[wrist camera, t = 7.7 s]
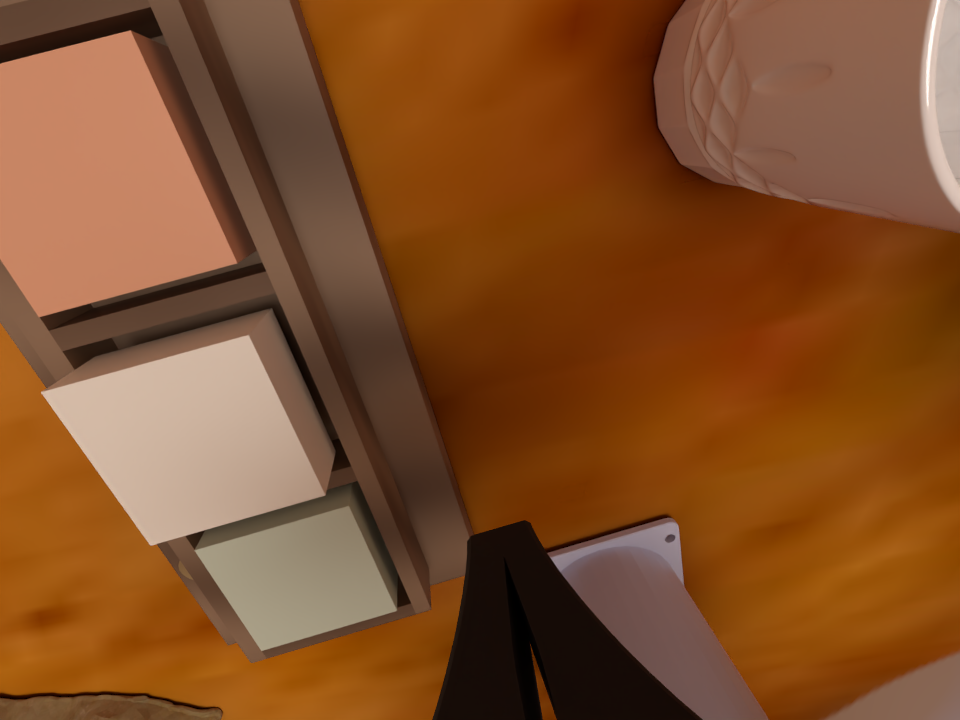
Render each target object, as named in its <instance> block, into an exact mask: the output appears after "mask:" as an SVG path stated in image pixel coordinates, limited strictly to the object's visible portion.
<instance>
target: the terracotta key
mask: <svg viewBox="0 0 960 720" xmlns="http://www.w3.org/2000/svg"><path fill="white" fill-rule="evenodd" d="M255 251H257V249H256V247H255V244H254V242H253V240H252V237H251V235H250V233H249V231H248V228H247V226H246V224H245V221H244V219H243V217H242V215H241V212H240V210H239V208H238V205H237V203H236V201H235V198H234V196H233V194H232V192H231V189H230V187H229V185H228V182H227V180H226V178H225V176H224V173H223V171H222V169H221V166H220V164H219V162H218V160H217V157H216V155H215V153H214V150H213V148H212V146H211V143H210V141H209V139H208V137H207V134H206V132H205V130H204V127H203V125H202V123H201V121H200V118H199V116H198V114H197V111H196V109H195V107H194V105H193V102H192V100H191V98H190V95H189V93H188V91H187V89H186V86H185V84H184V82H183V79H182V77H181V75H180V72H179V70H178V68H177V66H176V63H175V61H174V59H173V56H172V54H171V52H170V50H169V47H167V46H165V45H163V44H160V43H158V42H156V41H154V40H151V39H149V38H147V37H145V36H142V35H140V34H138V33H135V32H133V31H131V30H130V31H126V32H122V33H118V34H114V35H110V36H106V37H102V38H99V39H95V40H91V41H87V42H83V43H79V44H75V45H71V46H67V47H63V48H59V49H55V50H52V51H48V52H44V53H40V54H36V55H32V56H28V57H24V58H20V59H16V60H12V61H8V62H4V63H1V64H0V260H1V261H2V263H3V264H4V266H5V267H6V269H7V270H8V272H9V273H10V275H11V276H12V278H13V279H14V281H15V282H16V284H17V285H18V287H19V288H20V290H21V291H22V293H23V294H24V296H25V297H26V299H27V300H28V302H29V303H30V305H31V306H32V308H33V309H34V311H35V312H36V314H37V315H38V317H42V316H45V315H49V314H53V313H56V312H60V311H64V310H67V309H71V308H75V307H78V306H82V305H86V304H89V303H93V302H97V301H100V300H104V299H108V298H112V297H115V296H119V295H123V294H126V293H130V292H134V291H137V290H141V289H145V288H148V287H152V286H156V285H159V284H163V283H167V282H170V281H174V280H178V279H181V278H185V277H189V276H193V275H196V274H200V273H204V272H207V271H211V270H215V269H218V268H222V267H226V266H229V265H233V264H237V263H239V262H240V261H242V260H243V259H245V258H246V257H248V256H249V255H251V254H252V253H254V252H255Z"/></svg>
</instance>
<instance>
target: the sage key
mask: <svg viewBox="0 0 960 720" xmlns="http://www.w3.org/2000/svg"><path fill="white" fill-rule="evenodd" d="M194 551H195V552H196V554H197V555H198V557H199V558H200V560H201V561H202V563H203V564H204V566H205V567H206V569H207V570H208V572H209V573H210V575H211V576H212V578H213V579H214V581H215V582H216V584H217V585H218V587H219V588H220V590H221V591H222V593H223V594H224V596H225V597H226V599H227V600H228V602H229V603H230V605H231V606H232V608H233V609H234V611H235V612H236V614H237V615H238V617H239V618H240V620H241V621H242V623H243V624H244V626H245V627H246V629H247V630H248V632H249V633H250V635H251V636H252V638H253V639H254V641H255V642H256V644H257V645H258V647H259V648H260V650H261V651H263V650H267V649H270V648H274V647H277V646H280V645H284V644H287V643H290V642H294V641H297V640H301V639H304V638H307V637H311V636H314V635H317V634H321V633H324V632H328V631H331V630H334V629H338V628H341V627H344V626H348V625H351V624H355V623H358V622H361V621H365V620H368V619H371V618H375V617H378V616H382V615H385V614H388V613H392V612H395V611H397V589H398V572H397V570H396V567H395V565H394V563H393V560H392V558H391V556H390V554H389V551H388V549H387V547H386V544H385V542H384V540H383V537H382V535H381V533H380V531H379V528H378V526H377V524H376V521H375V519H374V517H373V515H372V512H371V510H370V508H369V505H368V503H367V501H366V499H365V496H364V494H363V492H362V489H361V487H360V485H359V482H358V481H356V482H352V483H349V484H345V485H342V486H338V487H335V488H331V489H328V490H327V491H326V495H325V496H322V497H318V498H315V499H311V500H308V501H304V502H301V503H297V504H294V505H290V506H287V507H284V508H280V509H277V510H273V511H270V512H266V513H263V514H259V515H256V516H252V517H249V518H245V519H242V520H238V521H235V522H231V523H228V524H224V525H221V526H218V527H214V528H211V529H207V530H205V532H204V533H203V535H202V537H201V539H200V541H199V543H198V545H197V547H196V549H195V550H194Z"/></svg>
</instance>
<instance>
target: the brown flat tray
mask: <svg viewBox="0 0 960 720" xmlns="http://www.w3.org/2000/svg"><path fill="white" fill-rule="evenodd" d="M130 30H131V31H133V32H135V33H138V34H140V35H142V36H145V37H147V38H149V39H151V40H154V41H156V42H158V43H160V44H163V45H165V46H167V47H169V50H170V52H171V54H172V56H173V59H174V61H175V63H176V66H177V68H178V70H179V72H180V75H181V77H182V79H183V82H184V84H185V86H186V89H187V91H188V93H189V95H190V98H191V100H192V102H193V105H194V107H195V109H196V111H197V114H198V116H199V118H200V121H201V123H202V125H203V127H204V130H205V132H206V134H207V137H208V139H209V141H210V143H211V146H212V148H213V150H214V153H215V155H216V157H217V160H218V162H219V164H220V166H221V169H222V171H223V173H224V176H225V178H226V180H227V182H228V185H229V187H230V189H231V192H232V194H233V196H234V198H235V201H236V203H237V205H238V208H239V210H240V212H241V215H242V217H243V219H244V221H245V224H246V226H247V228H248V231H249V233H250V235H251V237H252V240H253V242H254V244H255V247H256V249H257V251H255V252H254V253H252V254H251V255H249V256H248V257H246V258H245V259H243V260H242V261H240V262H239V263H237V264H233V265H229V266H226V267H222V268H218V269H215V270H211V271H207V272H204V273H200V274H196V275H193V276H189V277H185V278H181V279H178V280H174V281H170V282H167V283H163V284H159V285H156V286H152V287H148V288H145V289H141V290H137V291H134V292H130V293H126V294H123V295H119V296H115V297H112V298H108V299H104V300H100V301H97V302H93V303H89V304H86V305H82V306H78V307H75V308H71V309H67V310H64V311H60V312H56V313H53V314H49V315H45V316H42V317H38V315H37V314H36V312H35V311H34V309H33V308H32V306H31V305H30V303H29V302H28V300H27V299H26V297H25V296H24V294H23V293H22V291H21V290H20V288H19V287H18V285H17V284H16V282H15V281H14V279H13V278H12V276H11V275H10V273H9V272H8V270H7V269H6V267H5V266H4V264H3V263H2V261H1V260H0V323H1V324H2V326H3V327H4V328H5V330H6V331H7V333H8V334H9V335H10V337H11V338H12V340H13V341H14V343H15V344H16V345H17V347H18V348H19V350H20V351H21V352H22V354H23V355H24V357H25V358H26V360H27V361H28V362H29V364H30V365H31V367H32V368H33V369H34V371H35V372H36V374H37V375H38V377H39V378H40V379H41V381H42V382H43V384H44V385H45V386H46V388H48V387H50V386H51V385H53V384H54V383H56V382H57V381H59V380H60V379H62V378H63V377H65V376H66V375H68V374H69V373H71V372H72V371H74V370H76V369H77V368H79V367H80V366H82V365H83V364H85V363H86V362H88V361H89V360H91V359H92V358H94V357H95V356H99V355H102V354H106V353H110V352H113V351H117V350H120V349H124V348H128V347H131V346H135V345H139V344H142V343H146V342H150V341H153V340H157V339H160V338H164V337H168V336H171V335H175V334H179V333H182V332H186V331H190V330H193V329H197V328H200V327H204V326H208V325H211V324H215V323H219V322H222V321H226V320H230V319H233V318H237V317H240V316H244V315H248V314H251V313H255V312H259V311H262V310H266V309H270V308H272V309H273V312H274V314H275V316H276V318H277V321H278V323H279V325H280V327H281V330H282V332H283V334H284V336H285V339H286V341H287V343H288V345H289V348H290V350H291V352H292V354H293V357H294V359H295V361H296V363H297V365H298V368H299V370H300V372H301V374H302V377H303V379H304V381H305V383H306V386H307V388H308V390H309V392H310V395H311V397H312V399H313V401H314V404H315V406H316V408H317V410H318V413H319V415H320V417H321V419H322V422H323V424H324V426H325V428H326V430H327V433H328V435H329V437H330V439H331V442H332V444H333V446H334V448H335V451H336V453H335V457H334V461H333V466H332V470H331V474H330V478H329V483H328V487H327V490H328V489H331V488H335V487H338V486H342V485H345V484H349V483H352V482H356V481H358V482H359V485H360V487H361V489H362V492H363V494H364V496H365V499H366V501H367V503H368V505H369V508H370V510H371V512H372V515H373V517H374V519H375V521H376V524H377V526H378V528H379V531H380V533H381V535H382V537H383V540H384V542H385V544H386V547H387V549H388V551H389V554H390V556H391V558H392V560H393V563H394V565H395V567H396V570H397V572H398V589H397V611H395V612H392V613H388V614H385V615H382V616H378V617H375V618H371V619H368V620H365V621H361V622H358V623H355V624H351V625H348V626H344V627H341V628H338V629H334V630H331V631H328V632H324V633H321V634H317V635H314V636H311V637H307V638H304V639H301V640H297V641H294V642H290V643H287V644H284V645H280V646H277V647H274V648H270V649H267V650H263V651H261V650H260V648H259V647H258V645H257V644H256V642H255V641H254V639H253V638H252V636H251V635H250V633H249V632H248V630H247V629H246V627H245V626H244V624H243V623H242V621H241V620H240V618H239V617H238V615H237V614H236V612H235V611H234V609H233V608H232V606H231V605H230V603H229V602H228V600H227V599H226V597H225V596H224V594H223V593H222V591H221V590H220V588H219V587H218V585H217V584H216V582H215V581H214V579H213V578H212V576H211V575H210V573H209V572H208V570H207V569H206V567H205V566H204V564H203V563H202V561H201V560H200V558H199V557H198V555H197V554H196V552H195V551H194V550H195V549H196V547H197V545H198V543H199V541H200V539H201V537H202V535H203V533H204V532H205V530H204V531H200V532H197V533H193V534H190V535H186V536H183V537H179V538H176V539H172V540H169V541H165V542H162V543H158V544H157V545H158V547H159V548H160V549H161V551H162V552H163V554H164V555H165V557H166V558H167V559H168V561H169V562H170V564H171V565H172V566H173V568H174V569H175V571H176V572H177V574H178V575H179V576H180V578H181V579H182V581H183V582H184V583H185V585H186V586H187V588H188V589H189V591H190V592H191V593H192V595H193V596H194V598H195V599H196V600H197V602H198V603H199V605H200V606H201V608H202V609H203V610H204V612H205V613H206V615H207V616H208V617H209V619H210V620H211V622H212V623H213V625H214V626H215V627H216V629H217V630H218V632H219V633H220V635H221V636H222V637H223V639H224V640H225V642H226V643H227V644H228V645H231V644H234V643H238V645H239V646H240V648H241V649H242V651H243V652H244V654H245V655H246V656H247V658H248V659H249V661H250V662H251V663H253V662H257V661H260V660H263V659H267V658H270V657H274V656H277V655H280V654H284V653H287V652H290V651H294V650H297V649H300V648H304V647H307V646H311V645H314V644H317V643H321V642H324V641H327V640H331V639H334V638H338V637H341V636H344V635H348V634H351V633H354V632H358V631H361V630H364V629H368V628H371V627H375V626H378V625H381V624H385V623H388V622H391V621H395V620H398V619H402V618H405V617H408V616H412V615H415V614H418V613H422V612H425V611H428V610H431V595H430V586H431V585H434V584H438V583H441V582H444V581H448V580H451V579H454V578H458V577H461V576H465V572H466V561H467V541H468V539H469V538H470V536H472V535H474V534H473V531H472V528H471V525H470V522H469V519H468V516H467V513H466V509H465V506H464V503H463V500H462V497H461V494H460V491H459V488H458V485H457V482H456V479H455V476H454V473H453V470H452V467H451V464H450V461H449V458H448V455H447V452H446V449H445V446H444V443H443V440H442V437H441V433H440V430H439V427H438V424H437V421H436V418H435V415H434V412H433V409H432V406H431V403H430V400H429V397H428V394H427V391H426V388H425V385H424V382H423V379H422V376H421V373H420V370H419V367H418V364H417V361H416V357H415V354H414V351H413V348H412V345H411V342H410V339H409V336H408V333H407V330H406V327H405V324H404V321H403V318H402V315H401V312H400V309H399V306H398V303H397V300H396V297H395V294H394V291H393V288H392V285H391V281H390V278H389V275H388V272H387V269H386V266H385V263H384V260H383V257H382V254H381V251H380V248H379V245H378V242H377V239H376V236H375V233H374V230H373V227H372V224H371V221H370V218H369V215H368V212H367V209H366V205H365V202H364V199H363V196H362V193H361V190H360V187H359V184H358V181H357V178H356V175H355V172H354V169H353V166H352V163H351V160H350V157H349V154H348V151H347V148H346V145H345V142H344V139H343V136H342V133H341V129H340V126H339V123H338V120H337V117H336V114H335V111H334V108H333V105H332V102H331V99H330V96H329V93H328V90H327V87H326V84H325V81H324V78H323V75H322V72H321V69H320V66H319V63H318V60H317V57H316V53H315V50H314V47H313V44H312V41H311V38H310V35H309V32H308V29H307V26H306V23H305V20H304V17H303V14H302V11H301V8H300V5H299V2H298V0H0V64H1V63H4V62H8V61H12V60H16V59H20V58H24V57H28V56H32V55H36V54H40V53H44V52H48V51H52V50H55V49H59V48H63V47H67V46H71V45H75V44H79V43H83V42H87V41H91V40H95V39H99V38H102V37H106V36H110V35H114V34H118V33H122V32H126V31H130Z"/></svg>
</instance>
